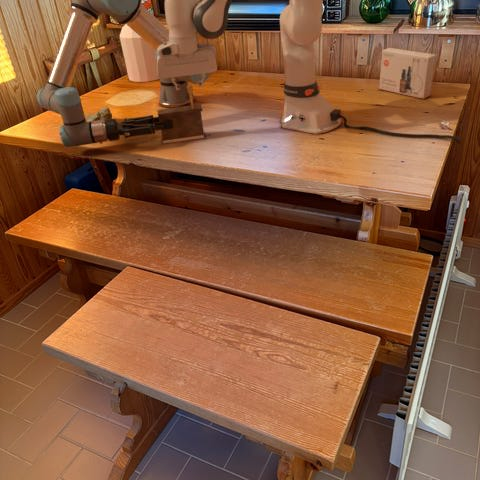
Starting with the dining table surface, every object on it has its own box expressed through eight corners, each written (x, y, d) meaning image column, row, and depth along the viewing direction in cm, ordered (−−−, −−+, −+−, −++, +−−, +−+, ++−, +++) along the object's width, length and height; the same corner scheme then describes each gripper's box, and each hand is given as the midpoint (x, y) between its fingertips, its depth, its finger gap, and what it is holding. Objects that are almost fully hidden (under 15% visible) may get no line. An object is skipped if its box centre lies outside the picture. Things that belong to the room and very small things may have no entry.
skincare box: (377, 89, 194) (381, 50, 185) (385, 86, 197) (389, 47, 188) (423, 99, 180) (429, 56, 171) (430, 95, 183) (437, 53, 174)
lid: (201, 106, 166) (198, 83, 161) (202, 111, 162) (199, 87, 157) (158, 112, 164) (153, 88, 160) (158, 116, 160) (153, 92, 156)
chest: (203, 132, 171) (199, 106, 166) (204, 137, 167) (200, 111, 162) (162, 138, 170) (158, 112, 164) (163, 143, 166) (158, 117, 160)
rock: (87, 123, 194) (86, 127, 185) (83, 107, 191) (82, 111, 182) (113, 119, 196) (113, 123, 187) (110, 103, 193) (110, 107, 184)
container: (160, 81, 233) (149, 21, 217) (121, 82, 238) (108, 23, 222) (174, 69, 249) (165, 13, 233) (138, 70, 254) (126, 15, 238)
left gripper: (110, 131, 172) (173, 123, 174) (107, 150, 157) (175, 140, 159) (105, 112, 168) (169, 103, 170) (101, 129, 153) (171, 119, 155)
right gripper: (213, 39, 155) (218, 81, 163) (152, 47, 153) (160, 89, 161) (216, 43, 150) (220, 86, 157) (153, 51, 148) (160, 94, 155)
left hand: (172, 121), depth 164 cm, fingers closed on chest, 5 cm apart
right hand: (189, 88), depth 159 cm, fingers open, 7 cm apart
